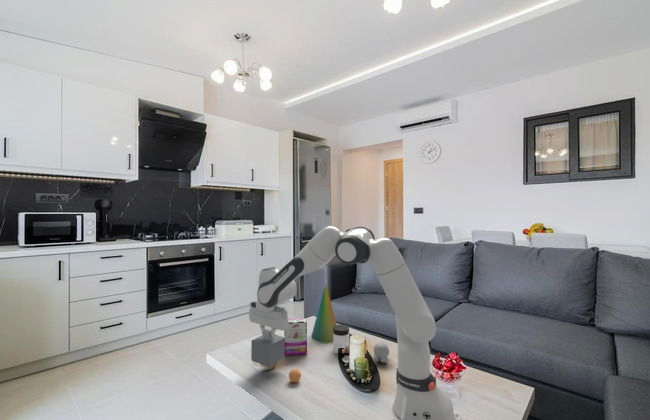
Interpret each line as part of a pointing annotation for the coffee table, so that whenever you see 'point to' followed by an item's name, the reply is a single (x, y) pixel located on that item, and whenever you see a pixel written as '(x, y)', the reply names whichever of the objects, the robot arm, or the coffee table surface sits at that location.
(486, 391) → the coffee table surface
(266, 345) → the grey faceted cube
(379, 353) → the chubby cartoon animal
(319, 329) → the decorative cone
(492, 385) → the coffee table surface
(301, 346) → the candy bar box
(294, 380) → the ball
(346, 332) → the jar
